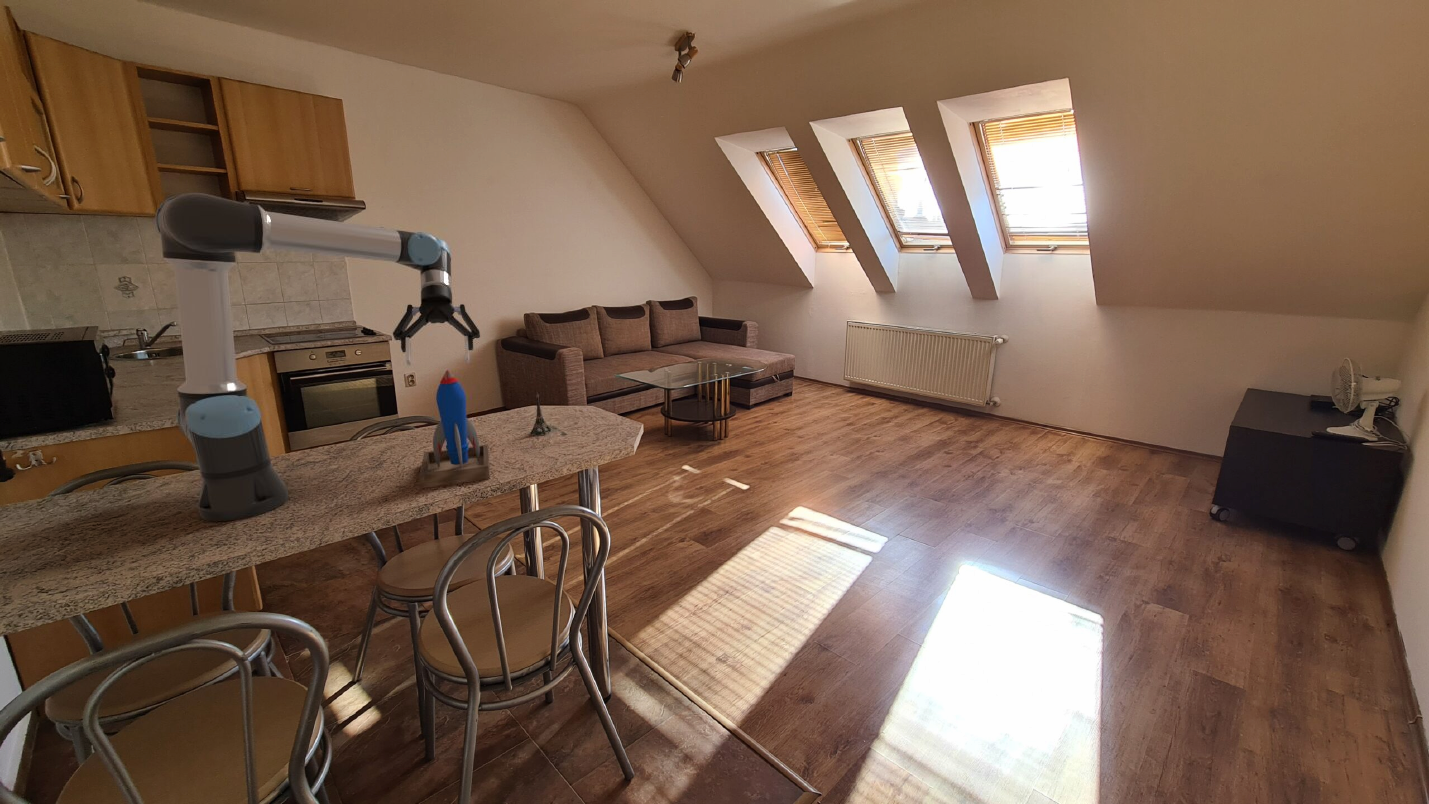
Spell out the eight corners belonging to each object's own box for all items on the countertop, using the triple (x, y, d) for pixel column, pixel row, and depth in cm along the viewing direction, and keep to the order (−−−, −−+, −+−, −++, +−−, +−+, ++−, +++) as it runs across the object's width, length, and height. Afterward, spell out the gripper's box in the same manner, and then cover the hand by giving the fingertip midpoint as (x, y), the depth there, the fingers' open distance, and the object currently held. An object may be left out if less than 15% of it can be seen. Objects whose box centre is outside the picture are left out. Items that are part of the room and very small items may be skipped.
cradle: (420, 488, 134) (418, 475, 133) (426, 463, 148) (424, 451, 148) (489, 478, 139) (488, 465, 139) (488, 456, 154) (487, 444, 153)
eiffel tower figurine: (569, 436, 170) (566, 393, 166) (536, 444, 164) (532, 399, 160) (548, 424, 181) (544, 383, 177) (516, 431, 175) (512, 388, 171)
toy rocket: (464, 477, 138) (450, 375, 131) (424, 476, 139) (408, 375, 132) (482, 460, 149) (470, 365, 142) (445, 459, 149) (432, 364, 142)
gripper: (487, 299, 162) (491, 366, 154) (386, 299, 154) (385, 370, 146) (485, 283, 156) (490, 352, 148) (380, 283, 147) (379, 356, 139)
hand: (438, 361), depth 147 cm, fingers open, 13 cm apart
